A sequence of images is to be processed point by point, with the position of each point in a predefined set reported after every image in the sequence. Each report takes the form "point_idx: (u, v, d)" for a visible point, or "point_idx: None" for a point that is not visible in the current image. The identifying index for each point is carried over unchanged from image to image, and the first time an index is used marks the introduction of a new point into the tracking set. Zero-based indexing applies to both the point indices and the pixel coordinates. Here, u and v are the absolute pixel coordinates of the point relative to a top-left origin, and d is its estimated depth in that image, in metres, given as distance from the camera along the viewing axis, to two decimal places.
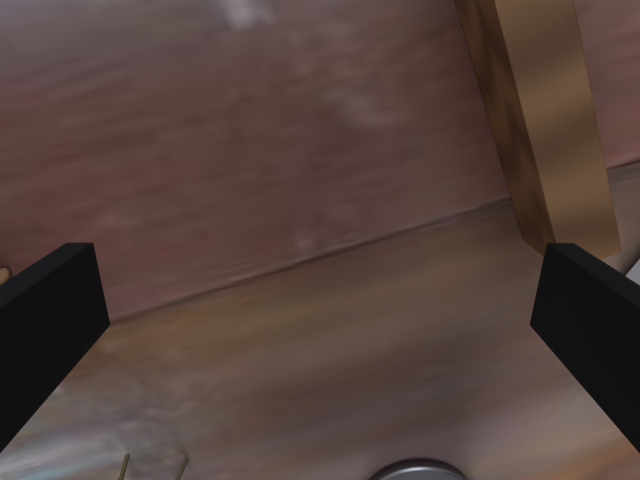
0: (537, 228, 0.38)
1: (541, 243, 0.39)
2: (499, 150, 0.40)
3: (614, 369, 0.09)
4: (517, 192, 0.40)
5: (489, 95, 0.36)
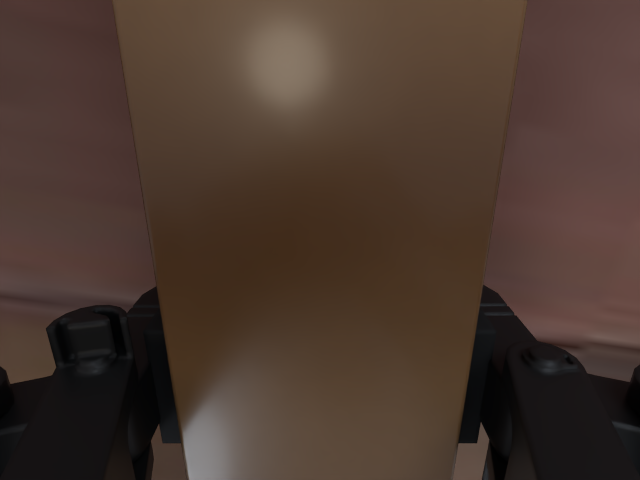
0: None
1: None
2: None
3: None
4: None
5: None
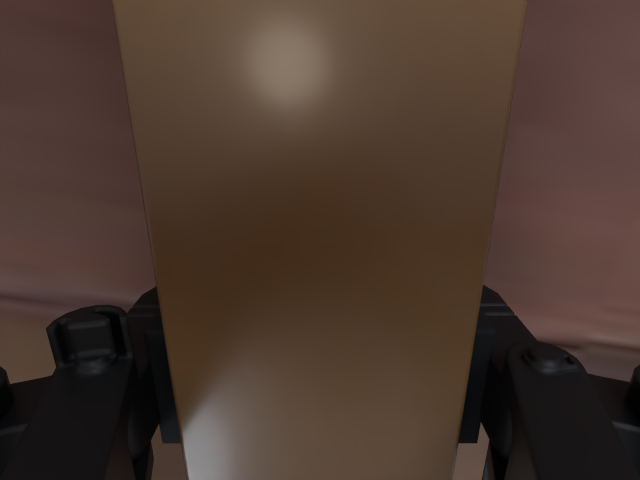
0: None
1: None
2: None
3: None
4: None
5: None
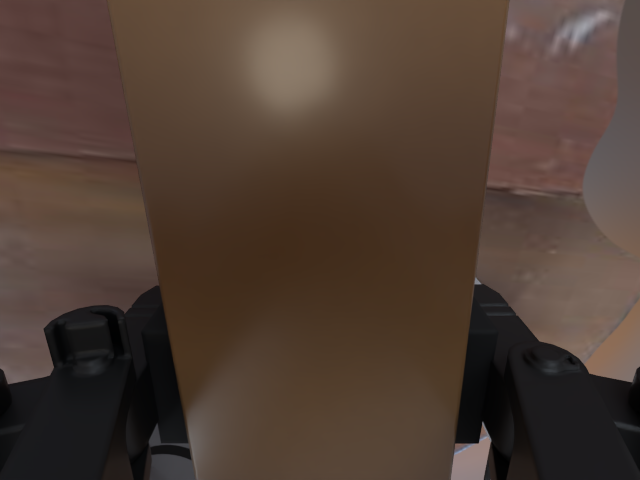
0: None
1: None
2: None
3: None
4: None
5: None
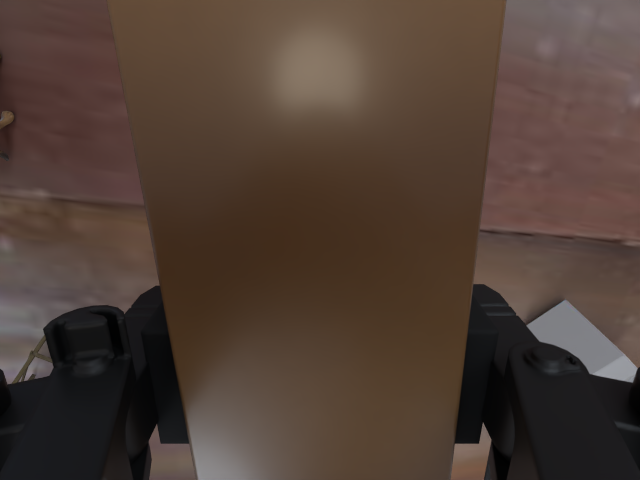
0: None
1: None
2: None
3: None
4: None
5: None
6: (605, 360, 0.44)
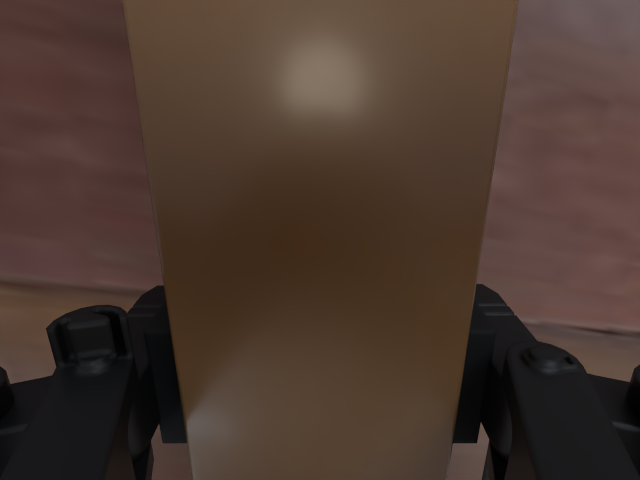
0: None
1: None
2: None
3: None
4: None
5: None
6: None
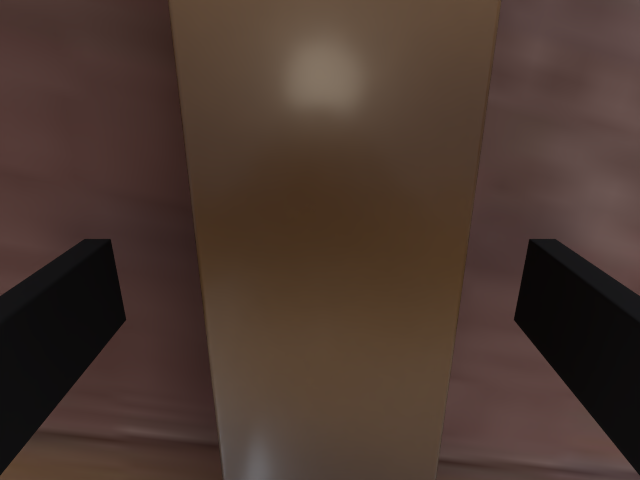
0: None
1: None
2: None
3: (589, 361, 0.09)
4: None
5: None
6: None
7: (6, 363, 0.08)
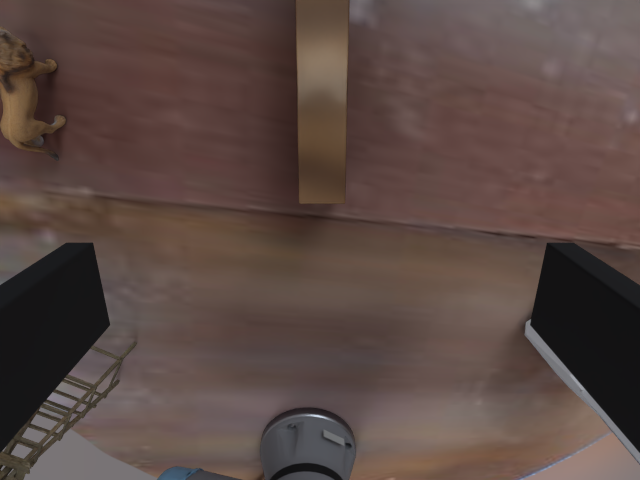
0: None
1: None
2: None
3: (614, 369, 0.09)
4: None
5: None
6: None
7: None
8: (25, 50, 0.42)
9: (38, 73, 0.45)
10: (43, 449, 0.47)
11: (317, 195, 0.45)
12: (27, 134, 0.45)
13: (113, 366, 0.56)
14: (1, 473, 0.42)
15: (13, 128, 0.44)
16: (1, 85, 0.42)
